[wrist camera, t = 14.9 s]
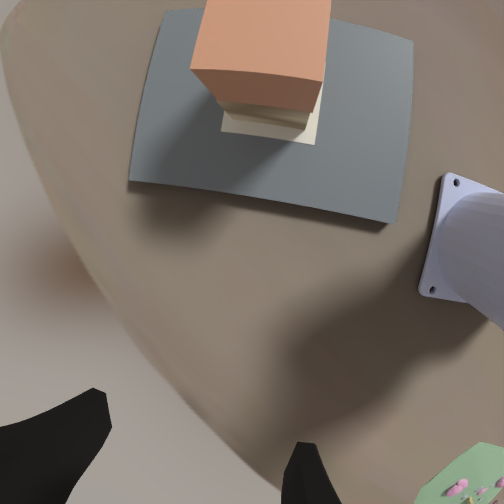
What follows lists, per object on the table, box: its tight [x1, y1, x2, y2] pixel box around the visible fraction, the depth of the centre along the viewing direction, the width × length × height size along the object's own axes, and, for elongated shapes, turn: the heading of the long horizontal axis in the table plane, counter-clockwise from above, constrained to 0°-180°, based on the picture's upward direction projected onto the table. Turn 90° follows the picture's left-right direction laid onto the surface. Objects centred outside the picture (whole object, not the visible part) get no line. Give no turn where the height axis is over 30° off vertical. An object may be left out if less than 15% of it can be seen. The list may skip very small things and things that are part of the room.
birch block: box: [217, 100, 310, 130], centre depth 13 cm, size 4×4×4 cm
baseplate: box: [129, 8, 413, 225], centre depth 15 cm, size 16×12×1 cm
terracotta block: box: [190, 0, 331, 113], centre depth 9 cm, size 4×4×4 cm
